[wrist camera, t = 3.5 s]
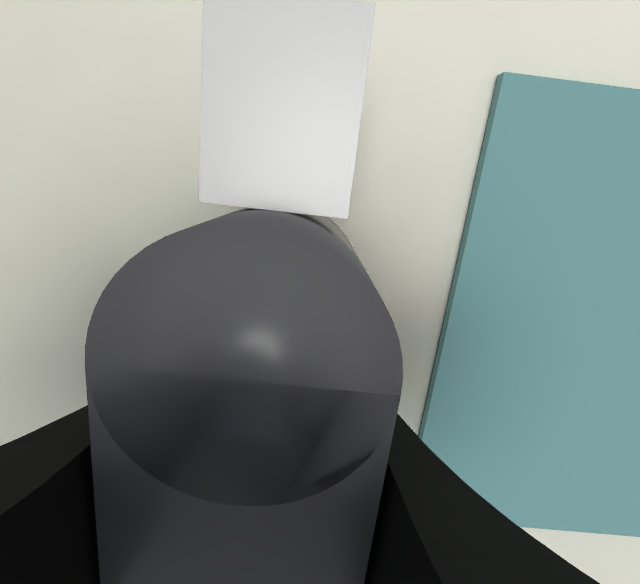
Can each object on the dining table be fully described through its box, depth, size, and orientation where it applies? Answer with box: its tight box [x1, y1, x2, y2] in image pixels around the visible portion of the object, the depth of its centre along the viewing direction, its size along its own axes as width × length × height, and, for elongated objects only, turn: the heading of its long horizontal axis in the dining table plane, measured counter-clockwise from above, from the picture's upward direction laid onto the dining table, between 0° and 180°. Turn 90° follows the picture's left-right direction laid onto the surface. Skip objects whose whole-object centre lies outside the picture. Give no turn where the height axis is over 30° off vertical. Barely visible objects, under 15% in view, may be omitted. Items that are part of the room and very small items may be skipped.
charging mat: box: [419, 72, 640, 537], centre depth 13 cm, size 16×13×1 cm
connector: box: [85, 0, 403, 584], centre depth 8 cm, size 13×4×5 cm, turn 174°
